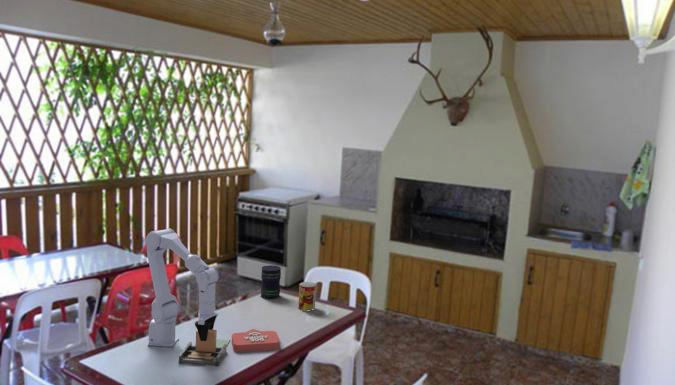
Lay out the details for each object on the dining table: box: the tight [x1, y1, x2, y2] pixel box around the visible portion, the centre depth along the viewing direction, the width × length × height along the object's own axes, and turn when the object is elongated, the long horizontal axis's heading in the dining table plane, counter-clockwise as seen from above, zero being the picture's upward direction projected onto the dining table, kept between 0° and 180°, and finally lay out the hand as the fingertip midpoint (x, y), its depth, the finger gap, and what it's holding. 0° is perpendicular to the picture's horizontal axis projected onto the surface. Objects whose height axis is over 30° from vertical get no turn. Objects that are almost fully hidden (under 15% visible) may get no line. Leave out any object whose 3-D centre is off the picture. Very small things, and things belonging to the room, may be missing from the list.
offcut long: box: [186, 355, 215, 360], centre depth 180 cm, size 9×2×2 cm, turn 87°
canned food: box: [298, 281, 317, 312], centre depth 241 cm, size 8×8×12 cm
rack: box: [178, 341, 227, 367], centre depth 183 cm, size 14×12×3 cm
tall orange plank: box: [195, 329, 218, 352], centre depth 186 cm, size 7×2×9 cm, turn 89°
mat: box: [194, 338, 231, 348], centre depth 195 cm, size 12×8×1 cm, turn 89°
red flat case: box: [231, 328, 281, 353], centre depth 199 cm, size 18×4×15 cm
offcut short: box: [191, 352, 211, 356], centre depth 182 cm, size 7×2×2 cm, turn 89°
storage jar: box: [260, 264, 282, 300], centre depth 256 cm, size 10×10×15 cm
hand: (206, 336), depth 186 cm, fingers open, 7 cm apart
